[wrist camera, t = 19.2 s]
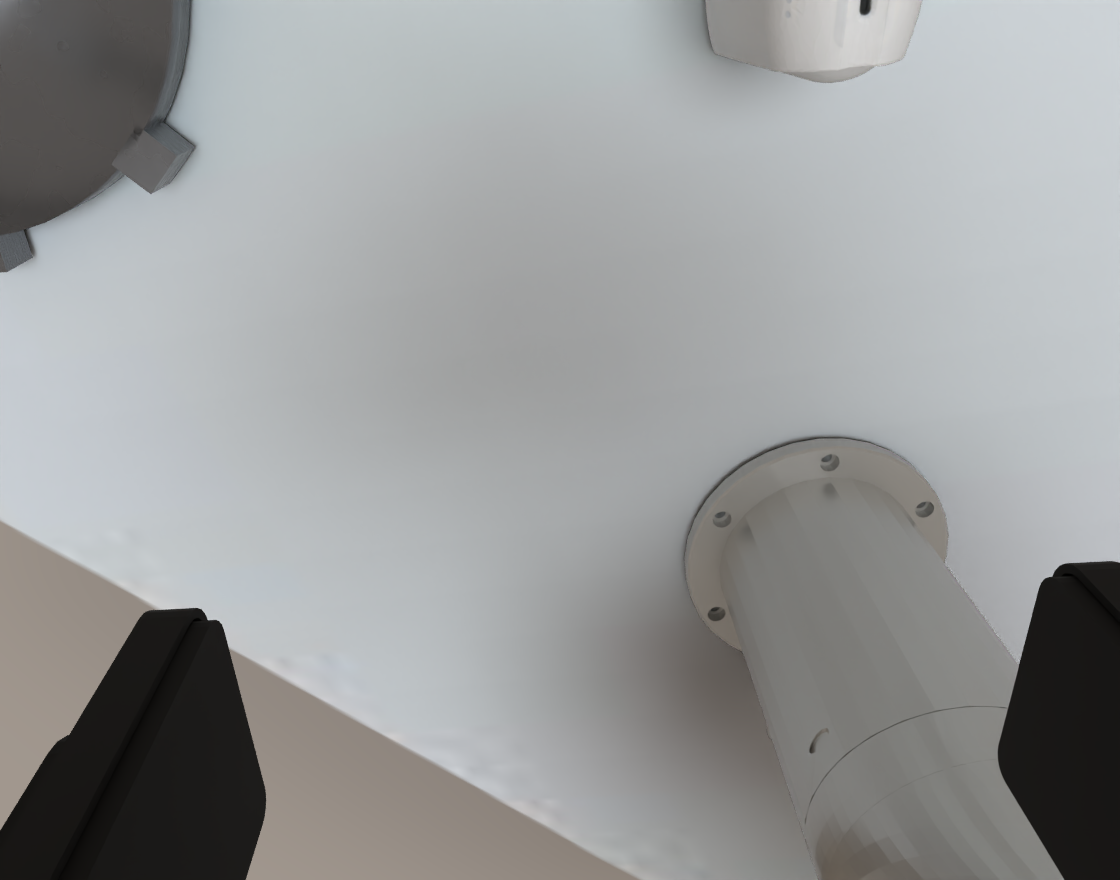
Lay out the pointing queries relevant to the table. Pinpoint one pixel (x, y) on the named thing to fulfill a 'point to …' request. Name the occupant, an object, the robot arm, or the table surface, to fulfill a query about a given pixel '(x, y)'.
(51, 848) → the robot arm
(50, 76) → the sprocket
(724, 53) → the photo printer
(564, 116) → the table surface
